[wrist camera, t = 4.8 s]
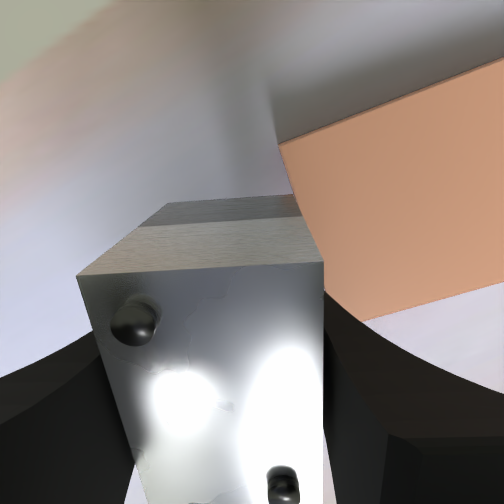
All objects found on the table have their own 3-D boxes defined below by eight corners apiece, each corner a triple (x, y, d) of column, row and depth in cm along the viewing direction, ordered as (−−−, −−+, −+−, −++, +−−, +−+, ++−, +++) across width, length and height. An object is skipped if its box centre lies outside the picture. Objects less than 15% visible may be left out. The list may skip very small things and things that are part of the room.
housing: (297, 353, 14) (324, 524, 8) (195, 357, 14) (146, 525, 8) (292, 194, 11) (327, 268, 5) (168, 202, 11) (65, 283, 5)
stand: (527, 253, 18) (556, 266, 17) (331, 310, 20) (338, 328, 19) (516, 51, 15) (553, 40, 13) (277, 144, 17) (279, 146, 15)
